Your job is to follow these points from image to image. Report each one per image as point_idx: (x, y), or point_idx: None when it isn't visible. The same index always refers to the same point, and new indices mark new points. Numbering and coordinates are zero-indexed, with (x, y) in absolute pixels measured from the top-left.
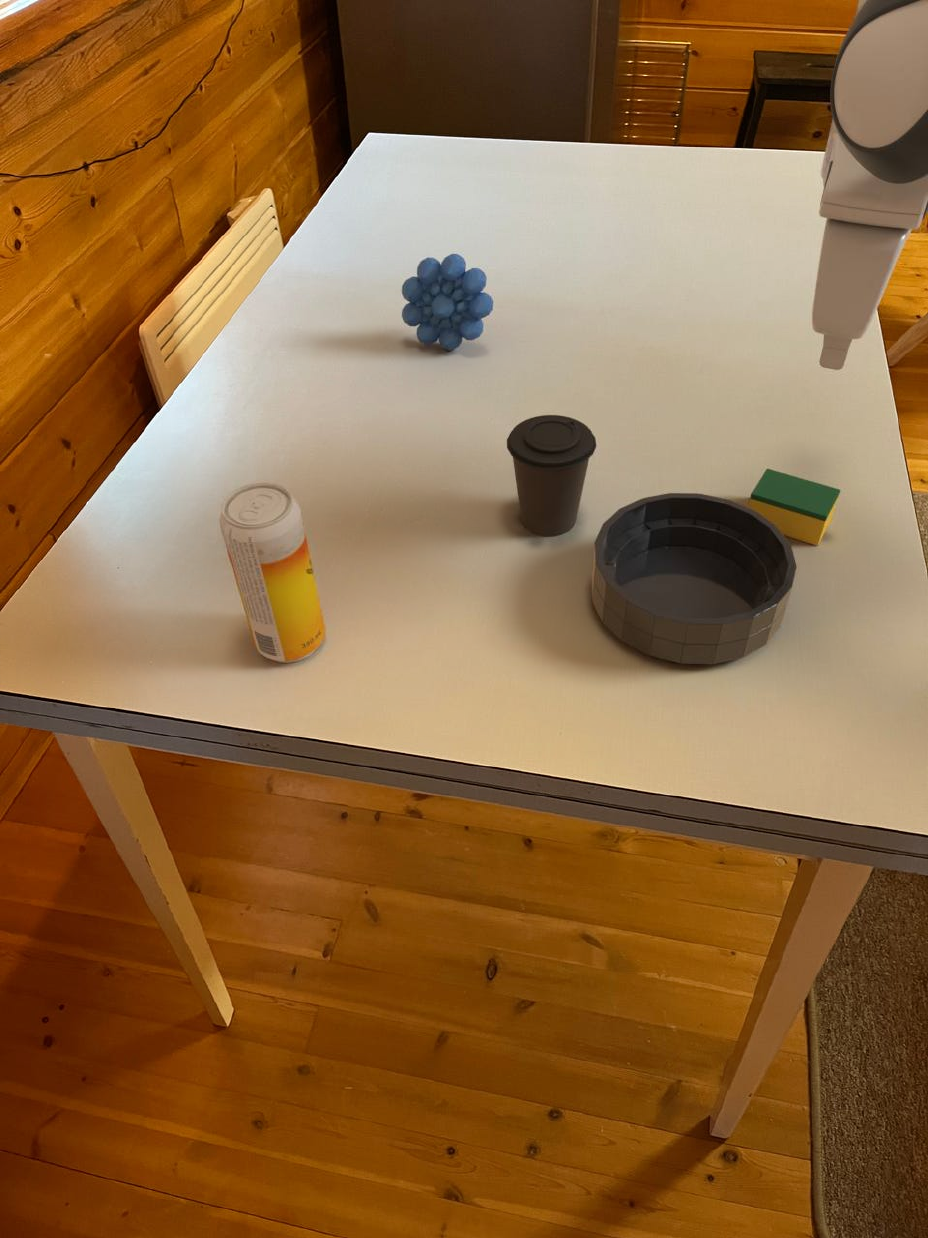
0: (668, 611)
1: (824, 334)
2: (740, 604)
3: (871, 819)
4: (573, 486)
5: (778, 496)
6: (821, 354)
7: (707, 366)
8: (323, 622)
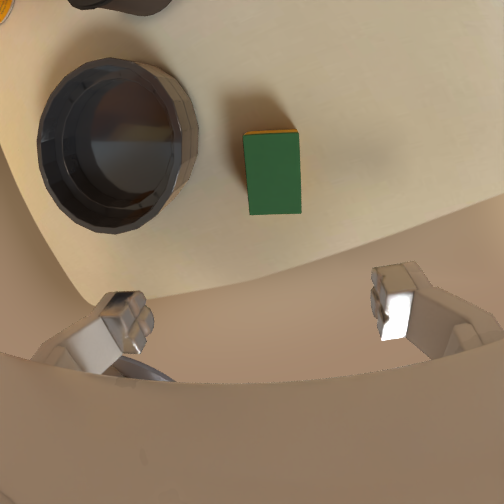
0: (100, 141)
1: (52, 338)
2: (137, 181)
3: (79, 292)
4: (109, 8)
5: (253, 162)
6: (98, 303)
7: (475, 31)
8: (1, 14)
